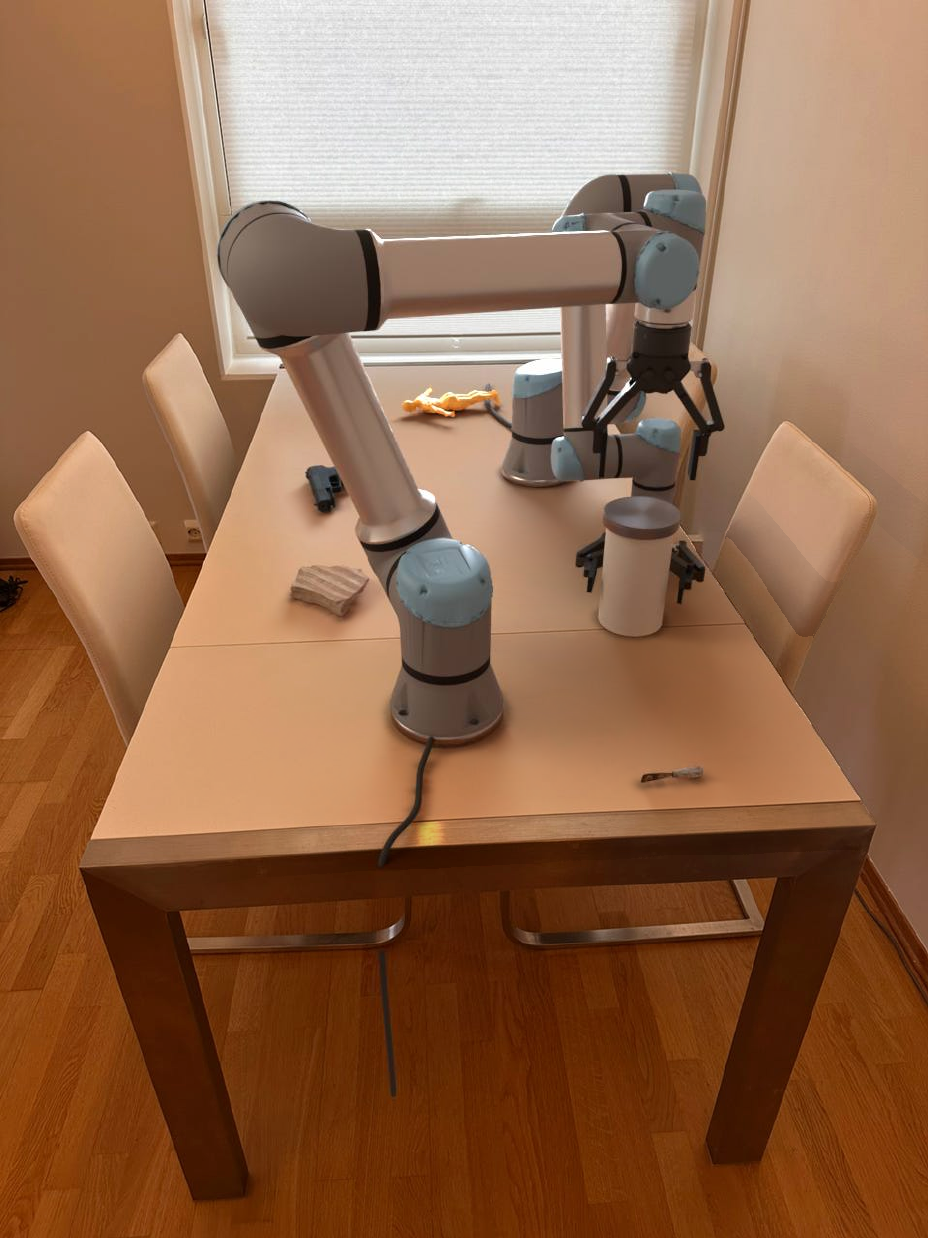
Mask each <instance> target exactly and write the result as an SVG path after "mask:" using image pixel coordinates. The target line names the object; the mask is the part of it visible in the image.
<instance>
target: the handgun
mask: <svg viewBox="0 0 928 1238" xmlns="http://www.w3.org/2000/svg"><path fill="white" fill-rule="evenodd" d="M304 473H305V479H307V480H308V483H309V486H310V488H311V492H312V496H313V497H314V500H315V503H313V506H314V507H317V510H318V511H319V512H320V513H330V512H331V511H332V507H333V508H334V509H335V508H336V500H335V499H336V498H335V494H341V493H342V492H343V487H345V486H344V484H343V482H342V480H341V478H340V476H339V474H338V472H337V470H336V468H335V466H334V465H333V466H330V467H328V466H325V465H323V464H319V465H311V466H309V467H307V468H306V471H305V472H304Z"/></svg>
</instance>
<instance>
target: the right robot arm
mask: <svg viewBox="0 0 928 1238" xmlns="http://www.w3.org/2000/svg"><path fill="white" fill-rule="evenodd" d="M658 190H688V191H695V192H699V193H701V194H702V195H703V190H702V188H701V185H700V182H699V181H698V179H697V178H696V177H695V176H694V175H692V174H689V173H676V172H675V173H674V172H673V171H669V172H668V173H646V174H645V173H644V174H643V173H641V174H639V173H638V174H635V173H633V174H631V173H630V174H627V173H626V174H625V173H624V174H616V173H606V174H602V175H598V176H596V177H594V178H592V179H590V180H589V181H587V182H585V183H584V184H583V185H582V186H581V187H580V188H579V189H578V190H577V191H576V192H575V193H574V194H573V196H572V197H571V198H570V200H569V201H568V202H567V204H566V205H565V208H564V209H563V211H562V214H561V215H560V218H561V217H564V216H571V215H579V214H581V213H584V214H597V213H623V212H636V211H639V210H643V206H644V204H645V199H646V196H647V195H648V194H649V193H650V192H652V191H658ZM635 305H636V303H624V304H602V305H587V306H572V307H559V317H560V319H559V321H560V352H561V358H558V359H555V358H543V359H537V360H533V361H530V362H527V363H525V364H523V365H521V366H519V368H517V369H516V371H515V372H514V375H513V380H512V389H511V397H512V398H511V399H512V400H511V401H512V402H511V403H512V404H511V407H512V408H511V422H509V421H508V420H506V419H505V418H504V417H503V416H501V415H500V414H499V413H497V411H496V410H495V409H494V408H493V407H492V405H491V401H490V399H488V400H485V405H486V407H487V409H488V411H490V413H491V414H492V415H493V416H494V417H495V418H496V419H498V420H499V422H501V423H503V424H504V425H505V426H507V427H508V428H510V429H511V439H510V441H509V444H508V447H507V450H506V452H505V455H504V458H503V461H502V465H501V467H502V468H501V473H502V476H503V477H504V478H505V479H506V480H508V481H509V482H510V483H513V484H516V485H519V486H524V487H531V488H532V487H533V488H549V487H556V486H560V485H563V484H565V483H567V482H582V483H583V482H584V481H596V480H610V479H611V480H612V479H631V491H630V497H634V496H638V497H650V498H655V499H659V500H663V501H666V502H668V503H670V504H672V505H674V504H675V491H676V479H677V471H678V466H679V459H680V454H681V450H682V449H681V445H682V444H681V443H682V429H681V426H680V425H679V424H678V423H677V422H676V421H674V420H671V419H667V418H664V417H649V418H647V419H642V420H641V421H639V423H638V424H637V427H636V431H635V433H620V434H619V433H618V434H609V431H608V426H609V425H615V426H616V425H617V426H618V425H620V424H621V425H622V424H626V423H628V424H629V423H632V422H634V421H636V420H637V419H639V417H640V416H641V414H642V412H643V410H644V408H645V405H646V402H647V393H644V392H643V391H641V390H640V391H639V392H638V393H637V395H636V396H635V397H633V398H632V399H631V400H630V401H629V402H628V403H627V404H626V405H625V406H624V407H623V409H622V410H621V411H620V412H619V413H618V414H617V415H616V416H615V417H614V419H613V420H612V421H611V422H610V423H609V424H608V425H607V426H606V427H607V433H608V437H607V448H606V460H605V472H604V478H599V475H598V464H599V454H598V453H593V450H592V440H593V431H592V430H591V429H589V428H583V427H582V423H581V417H582V415H583V413H584V411H585V409H586V407H587V405H588V403H589V401H590V400H591V398H592V396H593V394H594V392H595V390H596V388H597V386H598V384H599V383H600V381H601V379H602V377H603V375H604V373H605V368H606V361H607V358H608V357H610V356H613V357H614V358H615V359H619V360H628V358H629V357H630V354H631V348H632V337H633V326H634V323H636V321H638V319H636V318H635ZM631 378H632V377H631V376H630V374H629V373H628V371H627V369H625V370H623V371H622V372H621V374H620V375H619V376H615V378H614V381H613V383H612V385H611V387H610V389H609V391H608V393H607V395H606V397H605V398H604V400H603V402H602V404H601V406H600V408H599V410H598V411H597V413H596V415H595V417H594V418H595V419H596V418H597V417H598V416H599V415H600V414H601V413H602V412H603V410H604V409H605V408H606V407H607V406H608V405H609V404H610V403H611V401H612V400H613V399H614V398H615V397H616V396H617V395H618V394H619V392H620V391H621V390H622V389H623V388H624V387H625V385H626V383H627V382H628V381H629V380H630V379H631ZM485 386H486V387H485V392H490V388H491V384H490V383H489V382H488V383H486V385H485ZM674 506H675V505H674ZM605 536H606V531H603V532H602V534H601V536H600V537H598V538H597V539H595V540H594V541H592V542H591V543H588V544H587V545H586V546H584V547H582V548H581V549H578V550H577V551H576V552H575V565H574V566H575V567H576V568H578V569H581V568H583V570H582V571H583V572H582V577H583V578H585V579H587V581H586V593H588V594H592V593H593V589H594V585H595V582H596V579H597V574H598V569H601V568H603V559H604V547H605ZM669 573H672V574H673V575H674V576H676V577H677V578H679V580H678V581H679V582H678V587H677V588H678V589H677V597H676V604H677V605H682V604H683V599H684V593H685V592H684V591H691V590H692V586H693V581H695V582H697V583H703V582H704V581H705V575H706V566H705V564H703V562H702V561H701V560H700V559H699V558H698V557H697V555H695V554H694V552H693V551H692V550H691V549H690V548H689V547H688V543H687V540H683V539H681V540H679V541H678V543H676V544H675V543H673V545H672V553H671V560H670V568H669Z"/></svg>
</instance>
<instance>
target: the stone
mask: <svg viewBox="0 0 928 1238" xmlns="http://www.w3.org/2000/svg"><path fill="white" fill-rule="evenodd" d="M369 581H370V578H369V576H368V575H367V574H365V573H363V569H362V568H354V567H351V566H348V565H333V566H327V565H321V564H319V565H317V564H316V565H315V564H313V565H311V566H303V565H302V566H300V567H299V568H298V571H297V573H296V576H295V580H294V582H293V583H292V584H291V585H290V592H289V597H291V598H294V599H296V600H300V601H303V602H306V603H307V604H315V605H318V606H321V607H323V608H325V609H326V610H328V611H329V612H331V613H333V614H334V615H336V616H337V617H343V616H344V615H345V614H346V613H347V612H349V610H350V608H351V604H352V603H353V601H354V600H355V599H356V598H357V596H358V595H360V594H361V593H362V592H364V590H365V588H366V586H367V585H368V583H369Z"/></svg>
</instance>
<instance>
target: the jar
mask: <svg viewBox="0 0 928 1238" xmlns="http://www.w3.org/2000/svg"><path fill="white" fill-rule="evenodd" d="M605 532H606V536H605V547H604V559H603V567H602V570H601V571H602V572H601V581H600V582H601V583H600V594H599V604H598V605H599V606H598V618H597V619H598V622H599V623H600V625H601V626H602V627H604V629H605V630H607V631H609V632H611V633H612V634H613V633H614V634H617V635H619V636H624V637H631V638H632V637H634V638H635V637H645V636H646V637H647V636H649V635H652V634H654V633H656V632H657V631H659V630H660V629H661V628H662V625H663V619H664V612H665V603H666V598H667V597H666V596H667V589H668V582H669V575H670V571H669V568H670V560H671V553H672V545H673V544H674V538H675V534H673V535H671V536H669V537H666V538H662V539H656V540H638V539H631V538H626V537H623V536H620V535H617V534H615V533H613V532H611V531H609V530H608V529H607V528H606V527H605Z"/></svg>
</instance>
